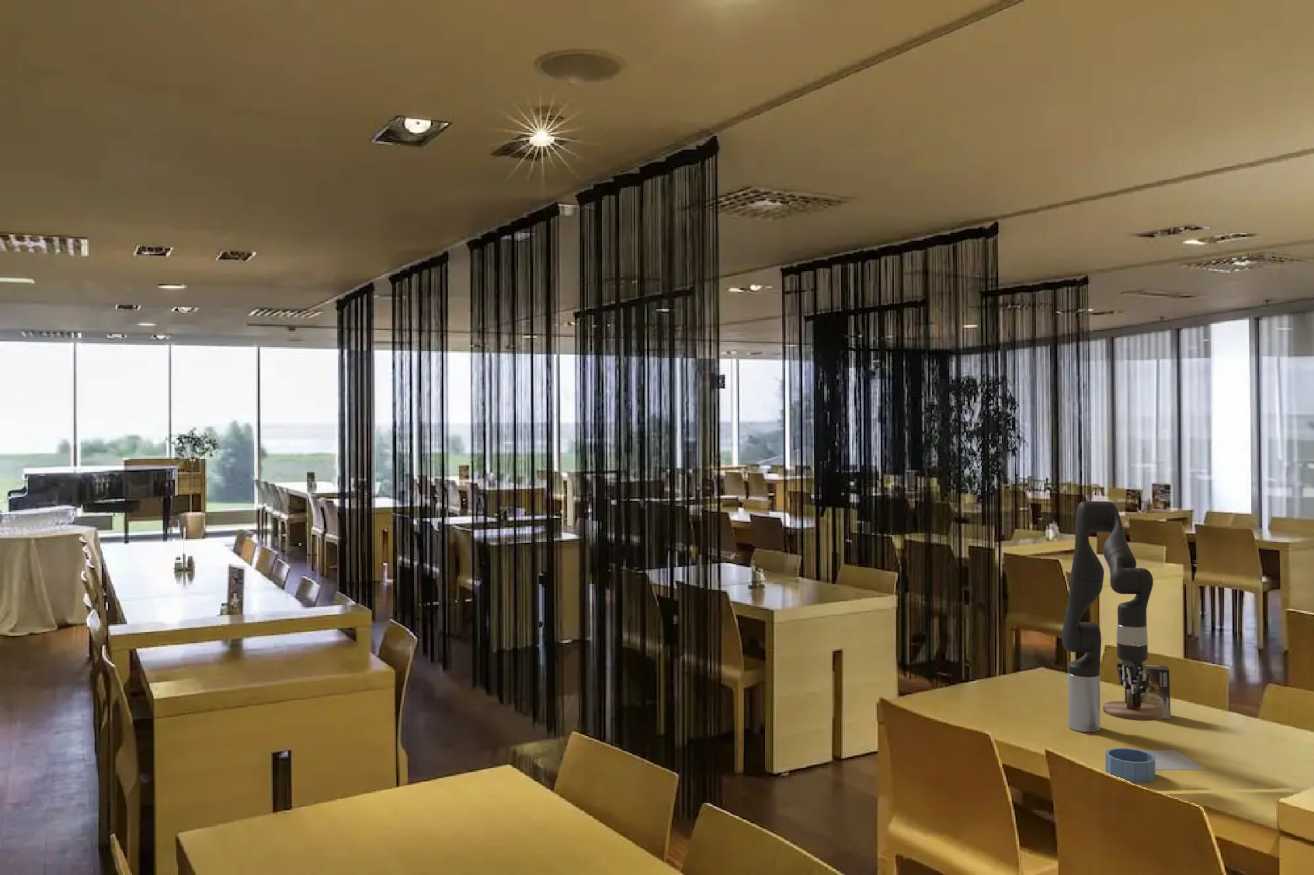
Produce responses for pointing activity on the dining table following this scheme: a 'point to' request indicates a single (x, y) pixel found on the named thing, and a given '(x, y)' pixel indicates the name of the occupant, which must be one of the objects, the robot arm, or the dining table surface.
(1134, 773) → the bowl
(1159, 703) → the coffee box
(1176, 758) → the mat
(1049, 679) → the dining table surface
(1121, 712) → the lid
